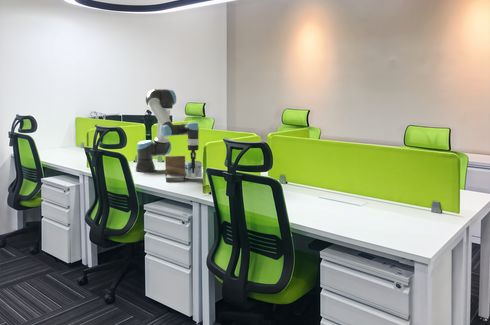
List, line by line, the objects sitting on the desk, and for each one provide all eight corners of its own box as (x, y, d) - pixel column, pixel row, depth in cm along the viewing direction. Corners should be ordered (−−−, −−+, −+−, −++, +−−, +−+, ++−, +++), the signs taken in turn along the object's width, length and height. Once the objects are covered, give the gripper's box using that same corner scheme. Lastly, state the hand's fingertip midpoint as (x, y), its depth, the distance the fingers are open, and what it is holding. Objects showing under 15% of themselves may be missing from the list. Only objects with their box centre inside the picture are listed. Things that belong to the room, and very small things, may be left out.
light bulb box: (187, 178, 306) (187, 163, 304) (184, 176, 312) (184, 161, 310) (202, 176, 311) (202, 162, 309) (198, 175, 317) (198, 160, 315)
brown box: (165, 177, 317) (165, 155, 314) (185, 177, 318) (185, 155, 316) (164, 181, 302) (164, 159, 300) (184, 181, 304) (184, 158, 301)
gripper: (188, 142, 317) (188, 173, 321) (187, 146, 297) (187, 179, 301) (198, 142, 318) (198, 173, 322) (198, 146, 298) (198, 179, 302)
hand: (193, 176), depth 311 cm, fingers closed on light bulb box, 8 cm apart
